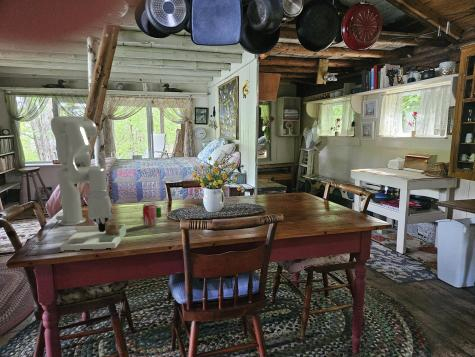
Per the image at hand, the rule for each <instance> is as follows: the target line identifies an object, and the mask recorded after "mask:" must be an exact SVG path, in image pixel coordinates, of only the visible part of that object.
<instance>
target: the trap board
mask: <svg viewBox="0 0 475 357" xmlns="http://www.w3.org/2000/svg"><path fill="white" fill-rule="evenodd" d="M119 227H120V230H119V231H118V234H117V235H107V236H106V230H105V231H104V232H100V231H99V230H98V225H82V226H81V225H80V226H76V232H75V233H74V234H73V235H72V236H70V237H69V238H68V239H67V240H65V241H64V242H63V243H61V245H60V252H65V251H64V250H75V251H81V250H80V249H93V250H104V249H105V250H107V249H106V248H111V249H116V248H117V247H118V245H119V244H120V243H121V241H123V238H124V237H125V235H126V234H127V229H126V224H125V223H124V224H122V223H121V224H120V223H119Z"/></svg>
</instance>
